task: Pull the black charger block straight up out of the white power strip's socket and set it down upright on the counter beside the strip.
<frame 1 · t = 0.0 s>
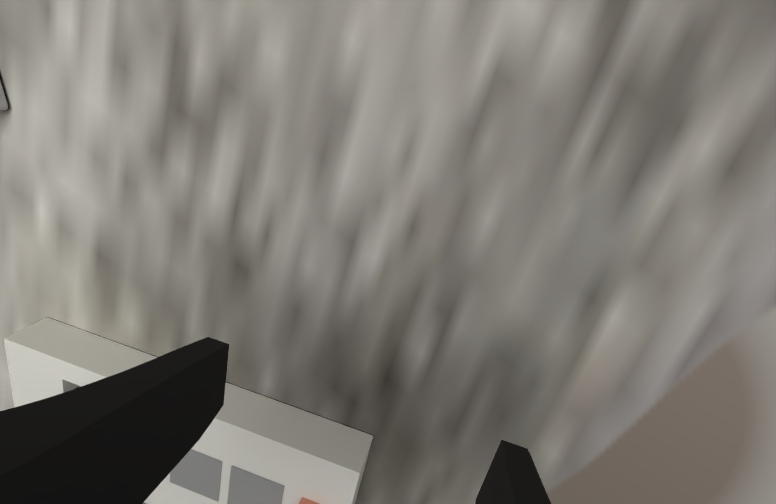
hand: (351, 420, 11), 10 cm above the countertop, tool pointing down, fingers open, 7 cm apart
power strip: (197, 428, 27), on the countertop
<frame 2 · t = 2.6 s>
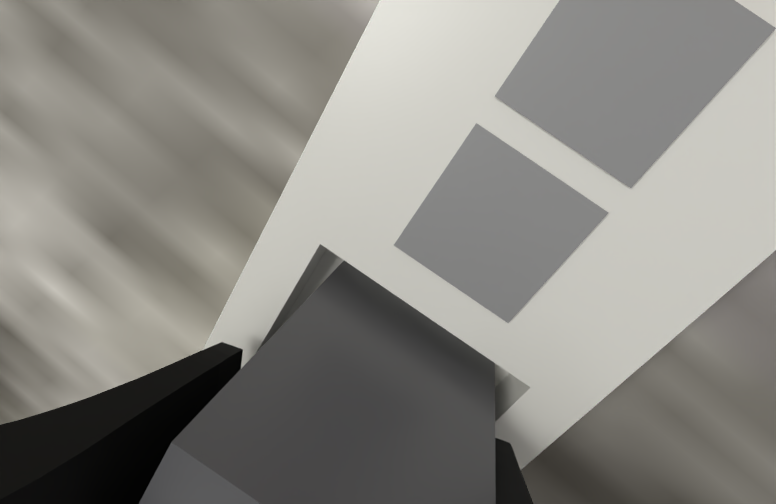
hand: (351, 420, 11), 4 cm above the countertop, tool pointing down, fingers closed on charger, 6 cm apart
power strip: (455, 252, 12), on the countertop
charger: (376, 365, 13), point 1 cm above the countertop, touching gripper, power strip
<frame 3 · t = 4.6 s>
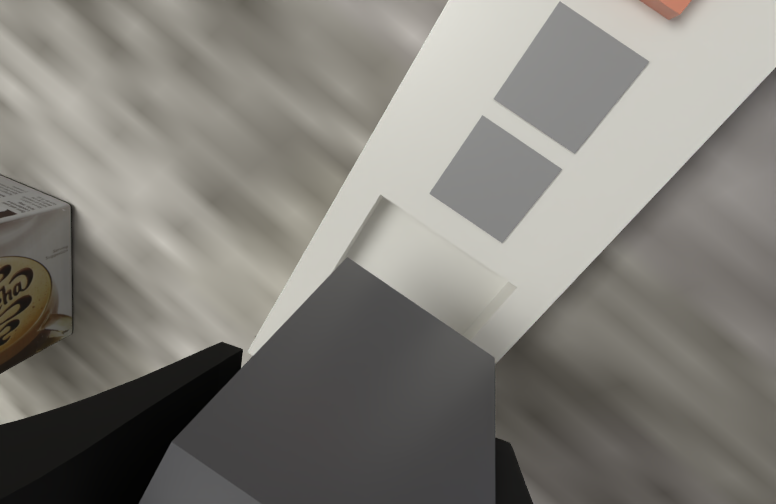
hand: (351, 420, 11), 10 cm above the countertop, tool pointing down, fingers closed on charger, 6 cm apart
coffee box: (32, 255, 25), on the countertop
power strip: (466, 205, 18), on the countertop
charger: (375, 365, 13), point 7 cm above the countertop, touching gripper
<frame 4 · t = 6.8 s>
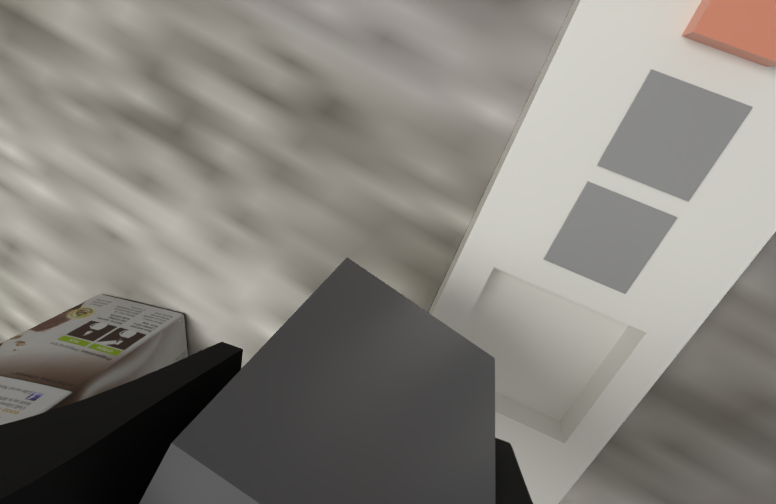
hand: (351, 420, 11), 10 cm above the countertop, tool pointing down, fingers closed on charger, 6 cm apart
coffee box: (151, 363, 27), on the countertop
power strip: (569, 256, 18), on the countertop
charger: (376, 365, 13), point 8 cm above the countertop, touching gripper
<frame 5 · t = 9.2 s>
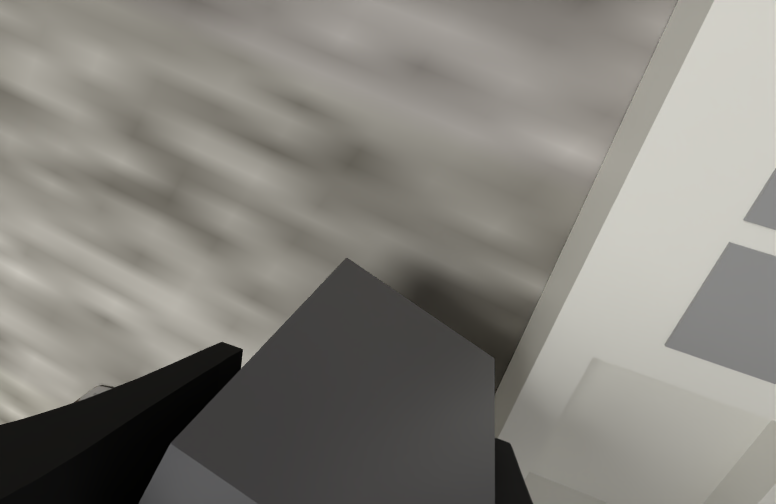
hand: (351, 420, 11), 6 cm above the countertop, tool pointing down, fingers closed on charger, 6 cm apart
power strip: (681, 325, 14), on the countertop
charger: (375, 366, 13), point 4 cm above the countertop, touching gripper
when the fingers open (3 cm above the countertop, at t = 11.2 s): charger drops 1 cm, on the countertop.
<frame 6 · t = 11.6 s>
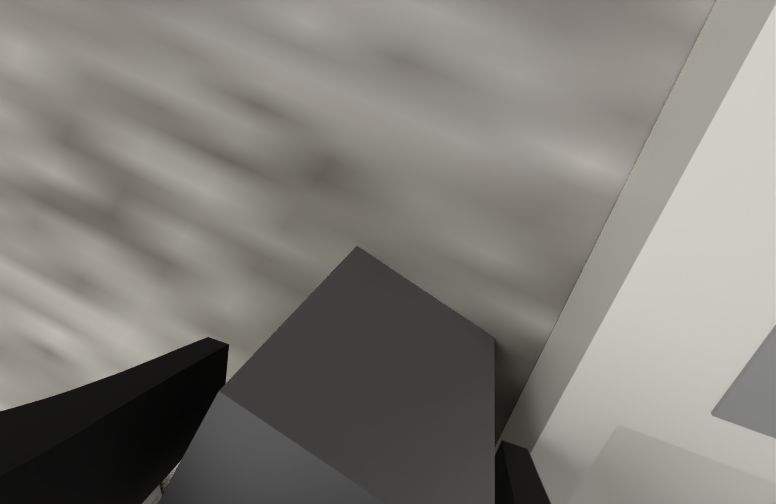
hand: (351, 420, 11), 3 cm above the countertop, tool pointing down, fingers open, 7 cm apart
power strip: (721, 375, 11), on the countertop
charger: (384, 347, 14), on the countertop
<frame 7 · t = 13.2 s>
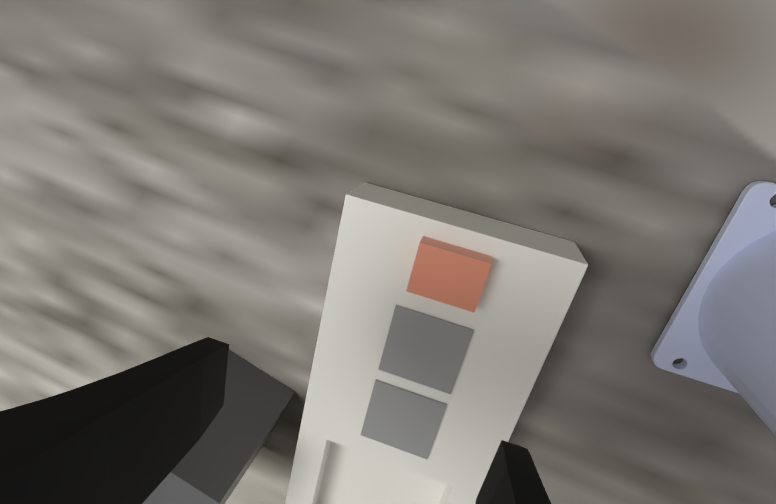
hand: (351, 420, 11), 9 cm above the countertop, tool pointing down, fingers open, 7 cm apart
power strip: (403, 410, 22), on the countertop
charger: (241, 396, 24), on the countertop
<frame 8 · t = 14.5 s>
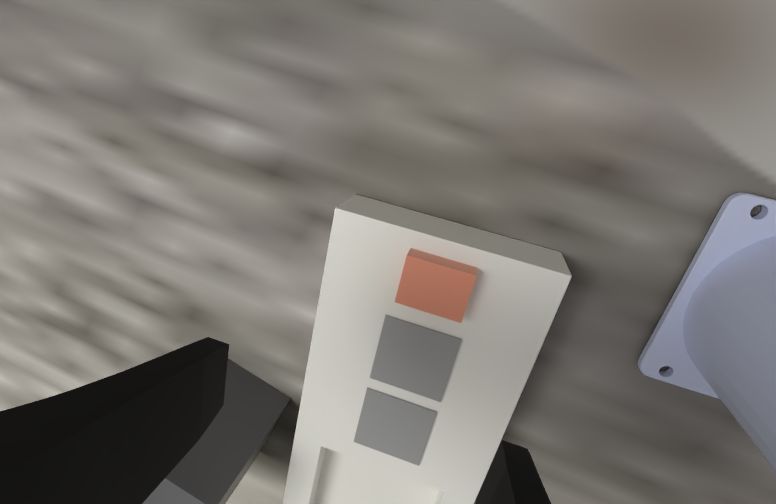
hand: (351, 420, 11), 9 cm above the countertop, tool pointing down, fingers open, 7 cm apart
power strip: (397, 416, 22), on the countertop
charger: (238, 403, 24), on the countertop
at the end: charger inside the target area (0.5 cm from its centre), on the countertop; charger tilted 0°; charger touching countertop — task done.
